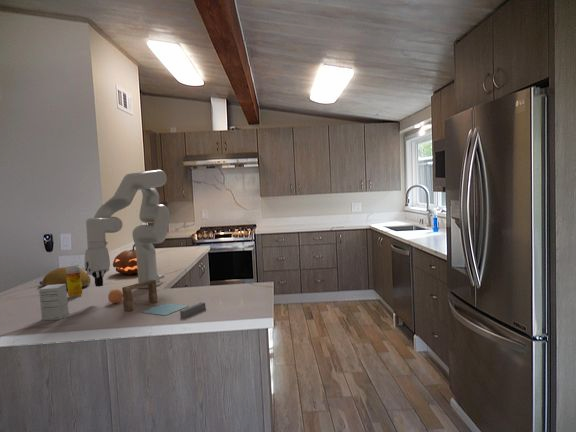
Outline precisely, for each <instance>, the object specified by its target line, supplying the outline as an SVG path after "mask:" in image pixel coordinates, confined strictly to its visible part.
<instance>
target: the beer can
mask: <svg viewBox="0 0 576 432" xmlns="http://www.w3.org/2000/svg"><path fill="white" fill-rule="evenodd" d="M65 267H66V276H67V287H68V289H67V297H69V299H70V298H71V299H73V298H80V297H82V295H83V287H82V283H81V272H80V269H81V266H80V265H79V264H71V265H66V266H65Z"/></svg>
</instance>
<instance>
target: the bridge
mask: <svg viewBox="0 0 576 432" xmlns="http://www.w3.org/2000/svg"><path fill="white" fill-rule="evenodd" d="M147 285H148V288H147V294H148V296H147V297H148V303H150V304H155V303H158V292H157V286H156V280H148V281H144V282H141V283H138V282H137V283H133V284H130V285H127V286H123V287H121V288H122V289H121V290H122V291H121V292H122V294H123V298H122V301H123V311H124V312H128V313H129V312H132V311H134V303H133V293H132V291H133V290H137V289H141V288H140V287H143V286H147Z"/></svg>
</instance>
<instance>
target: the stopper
mask: <svg viewBox="0 0 576 432" xmlns="http://www.w3.org/2000/svg"><path fill="white" fill-rule="evenodd" d="M206 307H207V306H206V302H199V303H195V304H194V305H191V306H189V307H186V308H184V309H181V310H179V312H180V313H179V316H180V318H183V319H185V318H188V317H190V316H192V315H195V314H197V313H200V312H202V311H204V310H206Z"/></svg>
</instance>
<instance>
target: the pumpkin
mask: <svg viewBox="0 0 576 432" xmlns="http://www.w3.org/2000/svg"><path fill="white" fill-rule="evenodd" d="M112 267H113V268H115V271H116V272H117V273H119V274H121V275H131V276H132V275H138V270H137V258H136V248H135V243H133V244H132V249H129V250H124V251H121V252H120V253H119V254H117V255H116V256H115V257H114V260H113V262H112Z"/></svg>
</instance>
